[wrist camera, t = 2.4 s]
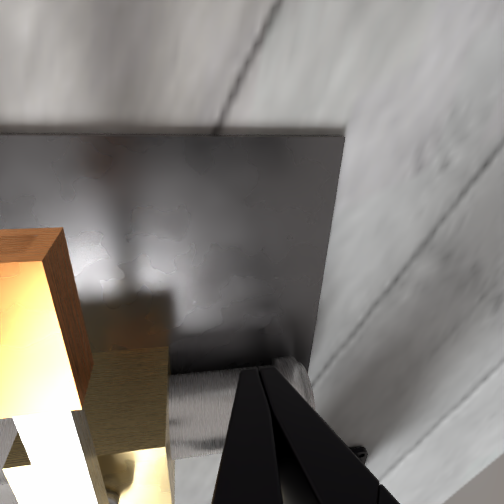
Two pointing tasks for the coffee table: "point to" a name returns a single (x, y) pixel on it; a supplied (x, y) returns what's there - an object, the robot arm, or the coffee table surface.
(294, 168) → the pipe on metal plate
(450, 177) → the coffee table surface
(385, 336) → the coffee table surface
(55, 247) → the valve lever
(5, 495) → the coffee table surface
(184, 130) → the coffee table surface
